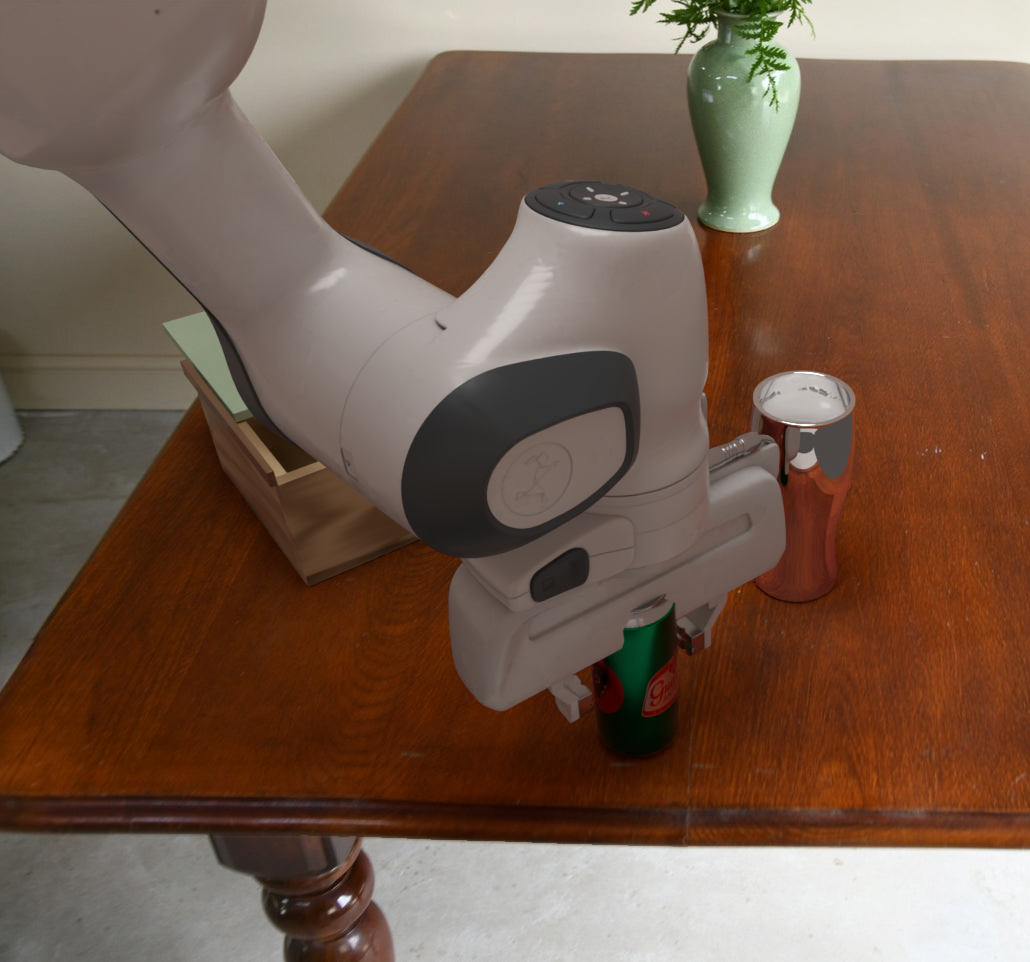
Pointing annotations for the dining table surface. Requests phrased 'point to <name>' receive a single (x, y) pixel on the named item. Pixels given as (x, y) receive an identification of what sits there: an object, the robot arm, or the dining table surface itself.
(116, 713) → the dining table surface
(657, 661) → the soda can
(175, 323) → the slide lid
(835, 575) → the beer glass
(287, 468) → the box
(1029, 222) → the dining table surface
